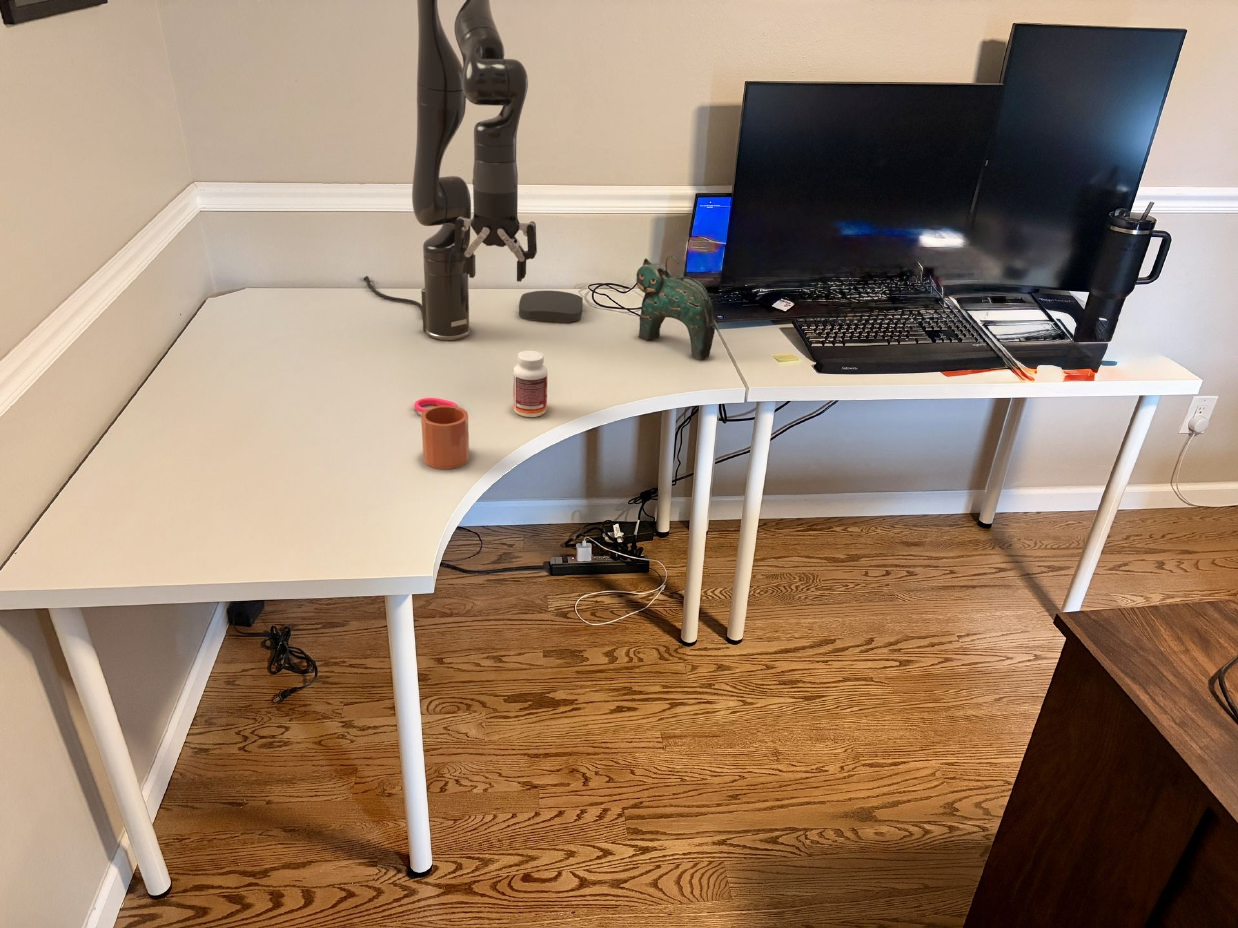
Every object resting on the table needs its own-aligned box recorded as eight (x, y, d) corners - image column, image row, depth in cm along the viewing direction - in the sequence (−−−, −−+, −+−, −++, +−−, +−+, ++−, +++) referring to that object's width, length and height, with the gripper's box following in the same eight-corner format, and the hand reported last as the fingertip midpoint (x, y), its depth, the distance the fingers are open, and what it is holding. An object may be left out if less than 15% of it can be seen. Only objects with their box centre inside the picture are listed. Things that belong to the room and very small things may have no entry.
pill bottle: (552, 414, 167) (554, 358, 161) (523, 421, 164) (523, 364, 158) (536, 401, 171) (537, 346, 166) (507, 407, 168) (507, 352, 163)
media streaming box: (580, 324, 208) (581, 312, 206) (516, 320, 208) (516, 308, 206) (583, 303, 221) (583, 291, 219) (523, 299, 220) (523, 287, 219)
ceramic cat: (629, 336, 203) (635, 248, 193) (648, 330, 207) (655, 243, 198) (699, 364, 192) (709, 272, 182) (717, 356, 196) (728, 266, 186)
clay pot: (414, 460, 149) (411, 416, 145) (444, 443, 155) (442, 401, 151) (448, 474, 146) (446, 430, 142) (478, 456, 151) (477, 413, 147)
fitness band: (408, 413, 164) (407, 405, 163) (426, 400, 169) (425, 393, 168) (447, 422, 161) (446, 415, 161) (464, 410, 166) (463, 402, 165)
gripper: (540, 184, 157) (538, 275, 165) (458, 178, 158) (461, 269, 166) (533, 194, 151) (532, 288, 159) (448, 188, 151) (451, 282, 159)
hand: (495, 278), depth 162 cm, fingers open, 8 cm apart
